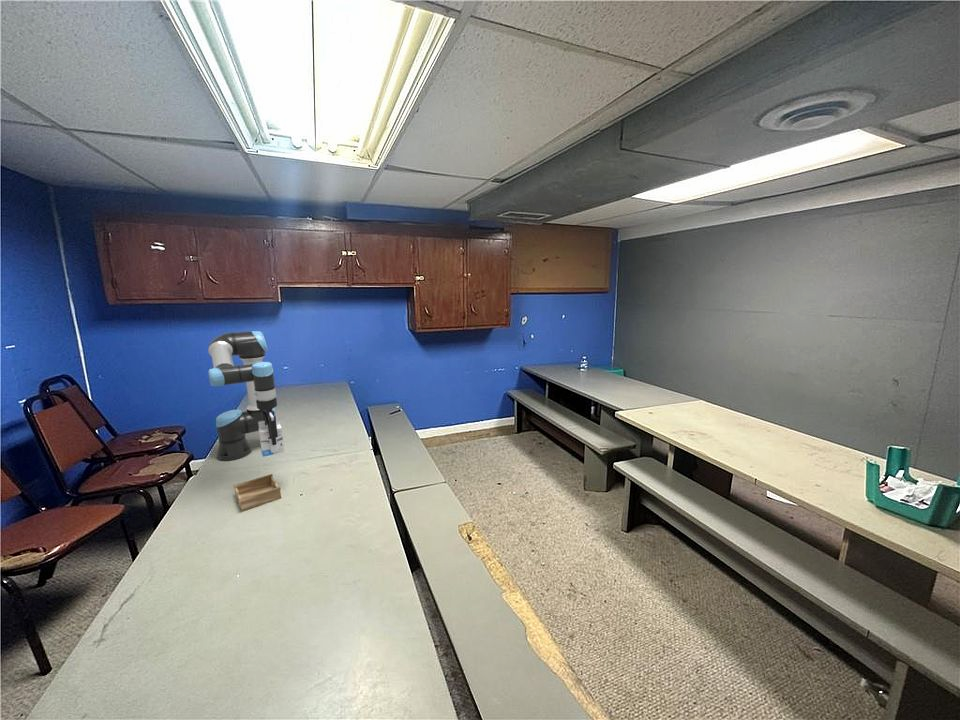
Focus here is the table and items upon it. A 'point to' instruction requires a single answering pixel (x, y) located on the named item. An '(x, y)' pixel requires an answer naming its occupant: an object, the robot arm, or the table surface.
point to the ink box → (265, 441)
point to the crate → (257, 492)
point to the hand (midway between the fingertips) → (272, 448)
